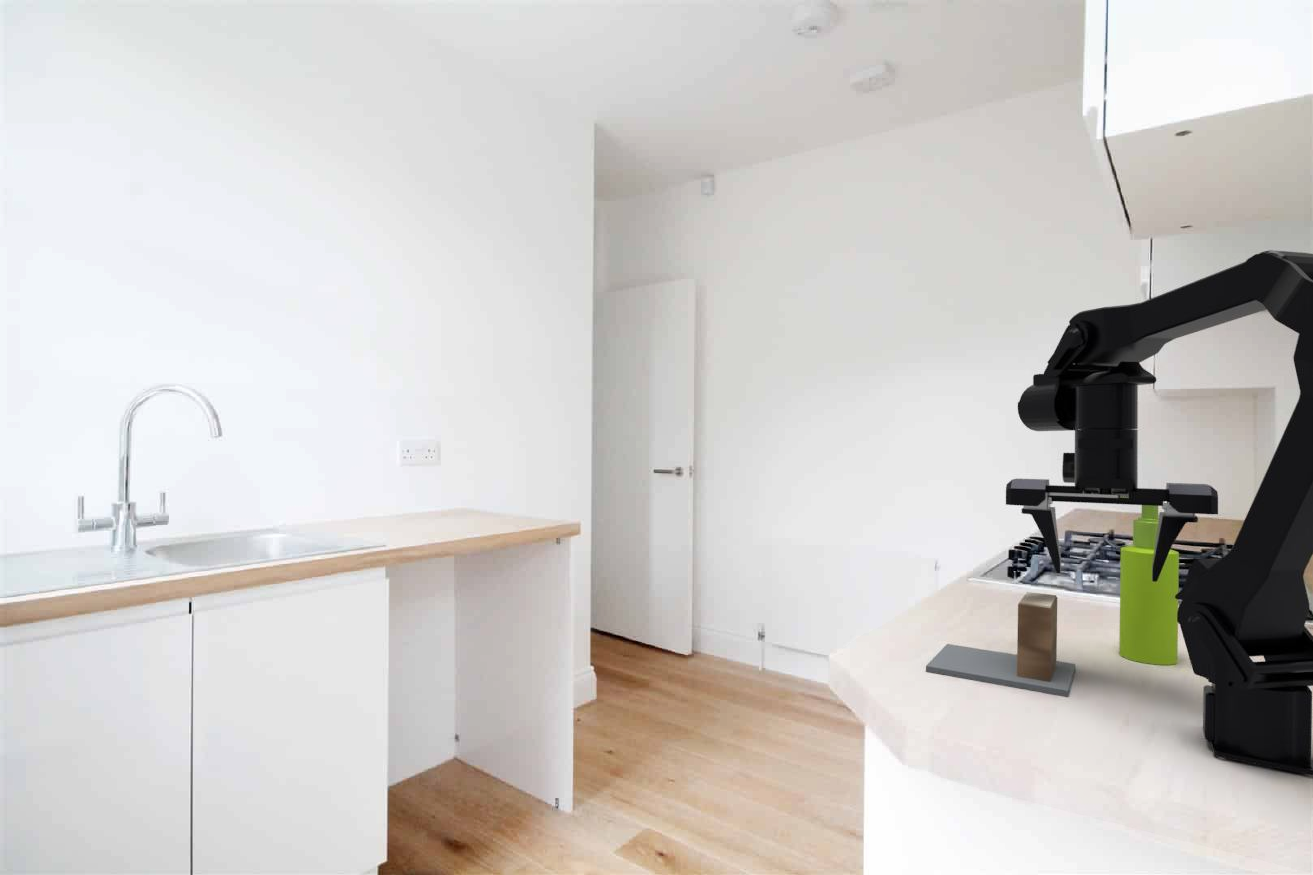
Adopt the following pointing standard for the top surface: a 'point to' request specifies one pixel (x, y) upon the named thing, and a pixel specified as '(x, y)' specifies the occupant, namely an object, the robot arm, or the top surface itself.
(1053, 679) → the mat
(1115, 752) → the top surface
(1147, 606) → the soap dispenser
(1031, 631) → the walnut slab
